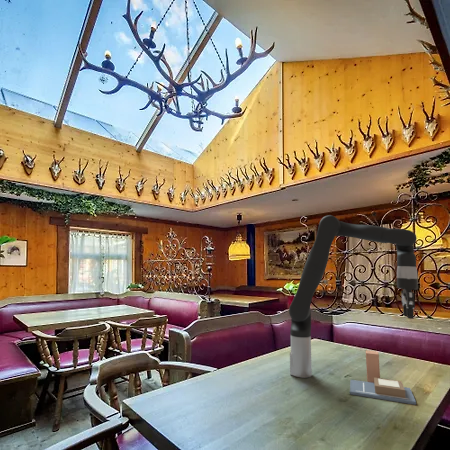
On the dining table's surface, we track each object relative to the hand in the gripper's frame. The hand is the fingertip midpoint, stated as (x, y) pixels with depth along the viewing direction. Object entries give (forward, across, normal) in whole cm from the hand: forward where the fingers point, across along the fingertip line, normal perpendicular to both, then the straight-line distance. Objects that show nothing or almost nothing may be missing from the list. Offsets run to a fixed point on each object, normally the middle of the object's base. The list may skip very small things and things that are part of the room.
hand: (408, 317), depth 127 cm
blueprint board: (+29, +7, -12) cm, 32 cm away
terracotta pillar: (+29, -5, -13) cm, 32 cm away
